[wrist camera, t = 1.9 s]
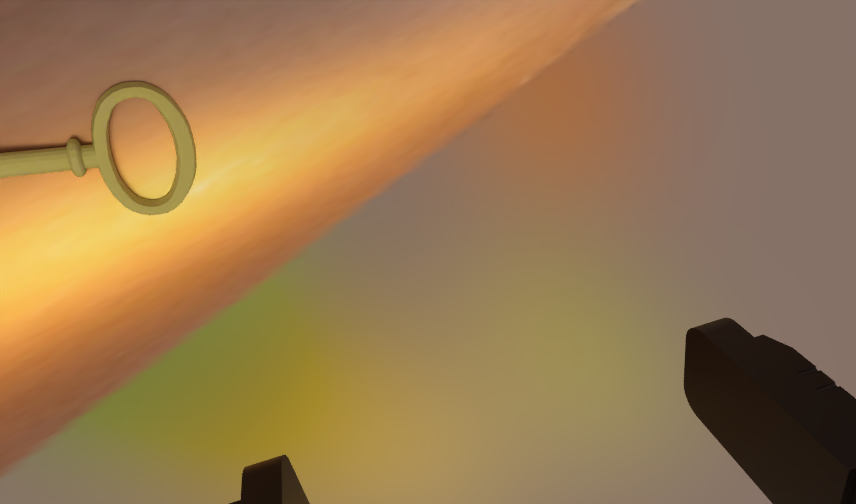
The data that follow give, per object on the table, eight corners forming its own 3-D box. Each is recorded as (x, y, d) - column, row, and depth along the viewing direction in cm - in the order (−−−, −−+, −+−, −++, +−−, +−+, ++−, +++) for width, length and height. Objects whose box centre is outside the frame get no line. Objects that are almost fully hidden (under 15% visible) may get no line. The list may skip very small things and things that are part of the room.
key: (-85, 154, 29) (-102, 172, 27) (159, 65, 30) (158, 77, 29) (13, 265, 33) (3, 287, 31) (223, 183, 35) (224, 199, 33)
